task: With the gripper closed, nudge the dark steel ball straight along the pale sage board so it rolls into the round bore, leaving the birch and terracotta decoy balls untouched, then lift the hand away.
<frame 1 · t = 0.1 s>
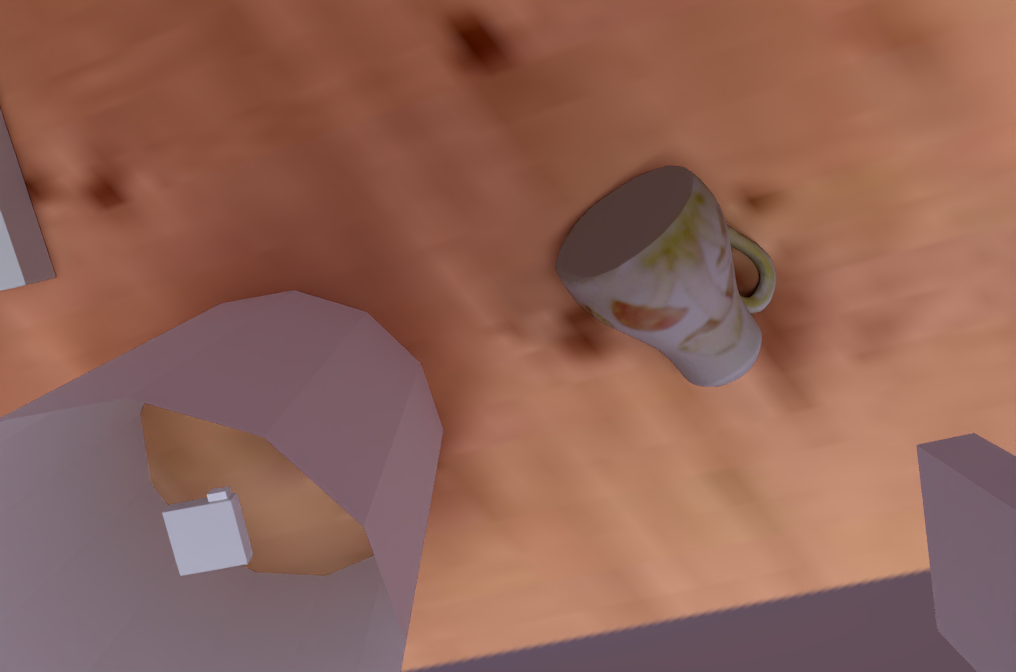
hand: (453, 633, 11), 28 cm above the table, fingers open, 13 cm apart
mug: (667, 276, 39), on the table
container: (294, 439, 40), on the table
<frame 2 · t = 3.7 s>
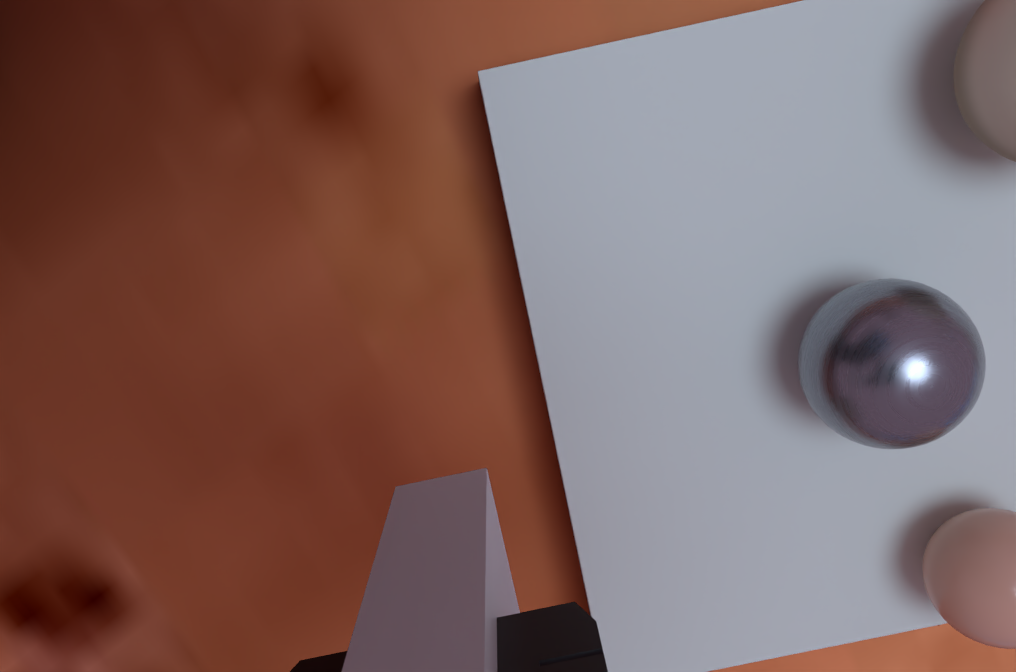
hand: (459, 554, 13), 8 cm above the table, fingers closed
steel ball: (887, 363, 17), point 4 cm above the table, touching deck
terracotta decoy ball: (997, 576, 18), point 4 cm above the table, touching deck
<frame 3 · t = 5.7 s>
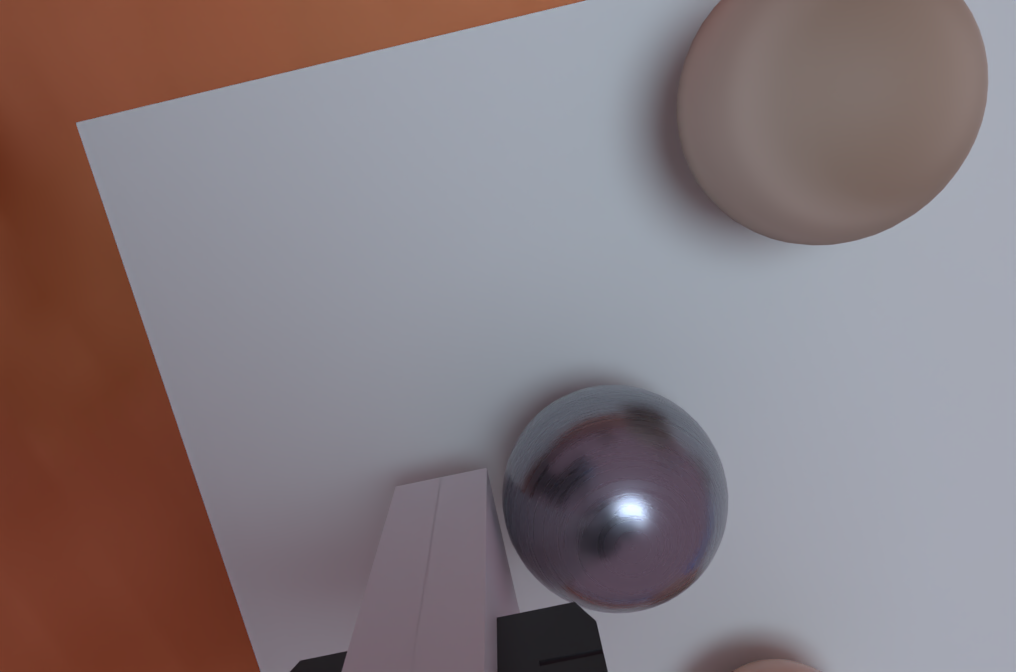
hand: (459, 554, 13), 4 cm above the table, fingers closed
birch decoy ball: (822, 101, 11), point 4 cm above the table, touching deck
steel ball: (613, 496, 13), point 4 cm above the table, touching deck
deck: (865, 347, 17), on the table
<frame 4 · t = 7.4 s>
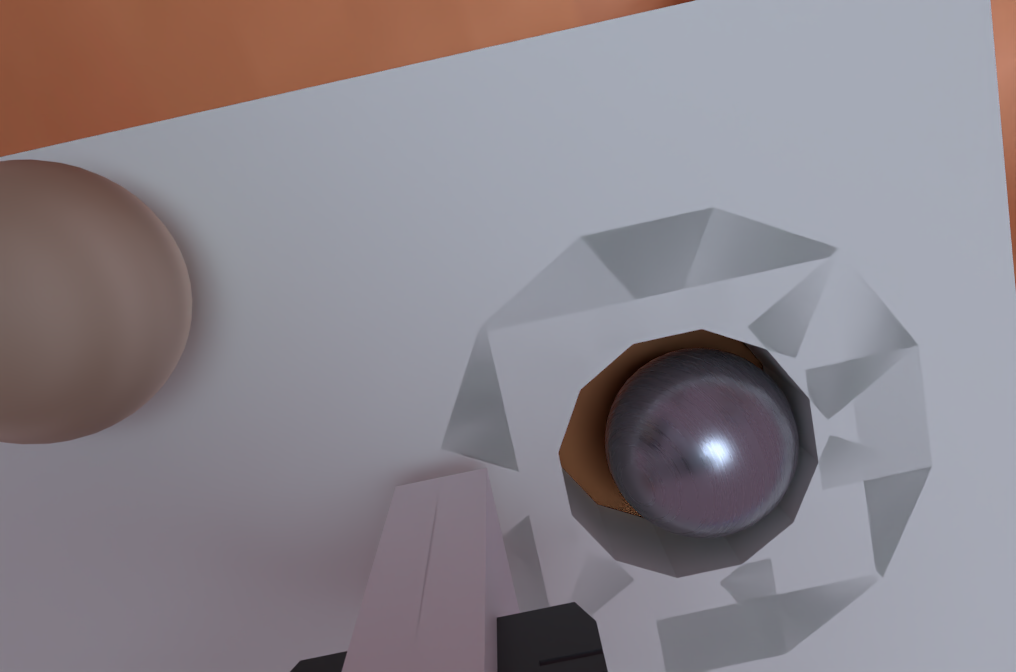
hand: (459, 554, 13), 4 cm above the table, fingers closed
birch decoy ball: (42, 302, 12), point 4 cm above the table, touching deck
steel ball: (699, 441, 15), point 2 cm above the table, tilted 125°
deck: (330, 486, 17), on the table
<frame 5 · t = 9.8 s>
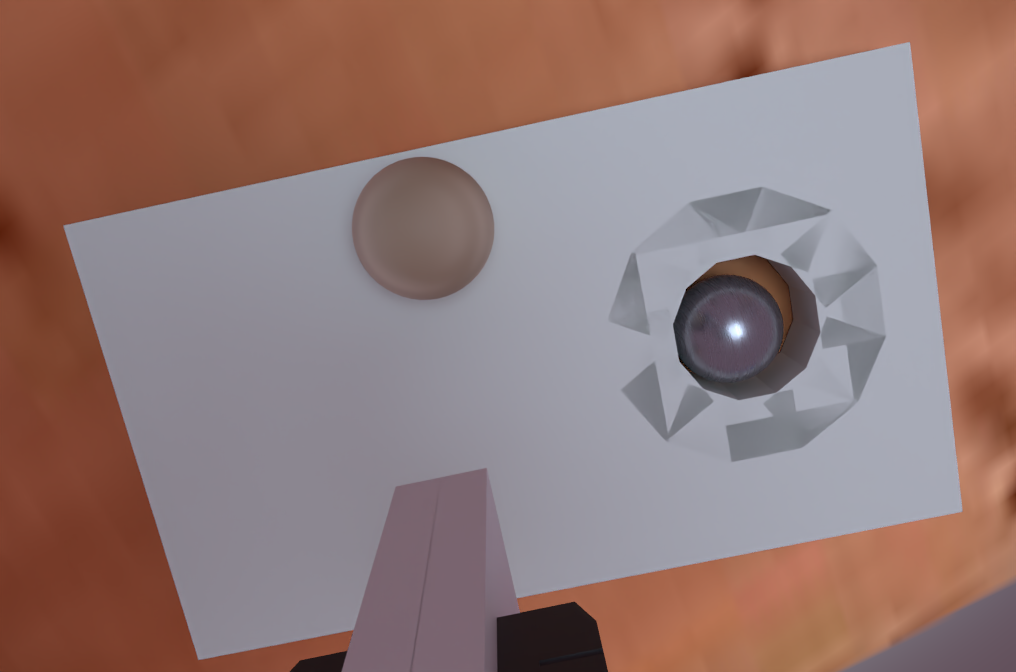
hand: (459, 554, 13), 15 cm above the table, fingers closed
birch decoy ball: (423, 229, 23), point 4 cm above the table, touching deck
steel ball: (726, 328, 27), point 2 cm above the table, tilted 98°
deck: (526, 356, 29), on the table
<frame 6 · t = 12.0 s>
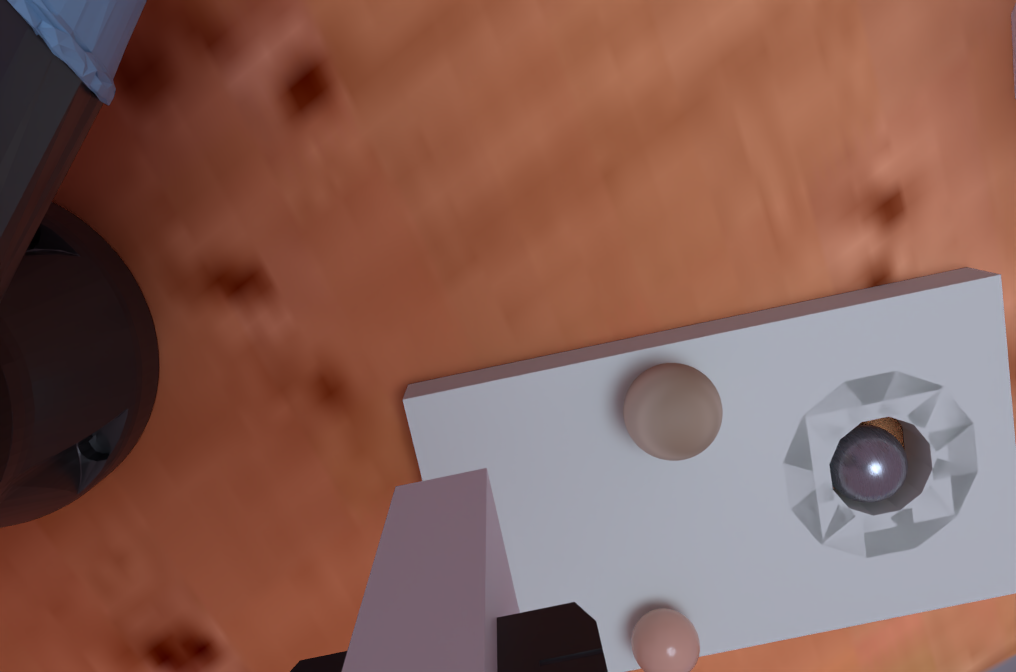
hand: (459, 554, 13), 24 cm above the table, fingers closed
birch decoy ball: (672, 411, 34), point 4 cm above the table, touching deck
steel ball: (865, 463, 37), point 2 cm above the table, tilted 100°
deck: (711, 477, 39), on the table
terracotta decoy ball: (665, 643, 36), point 4 cm above the table, touching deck
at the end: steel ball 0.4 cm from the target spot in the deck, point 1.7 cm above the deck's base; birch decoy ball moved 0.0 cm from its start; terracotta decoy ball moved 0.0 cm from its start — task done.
